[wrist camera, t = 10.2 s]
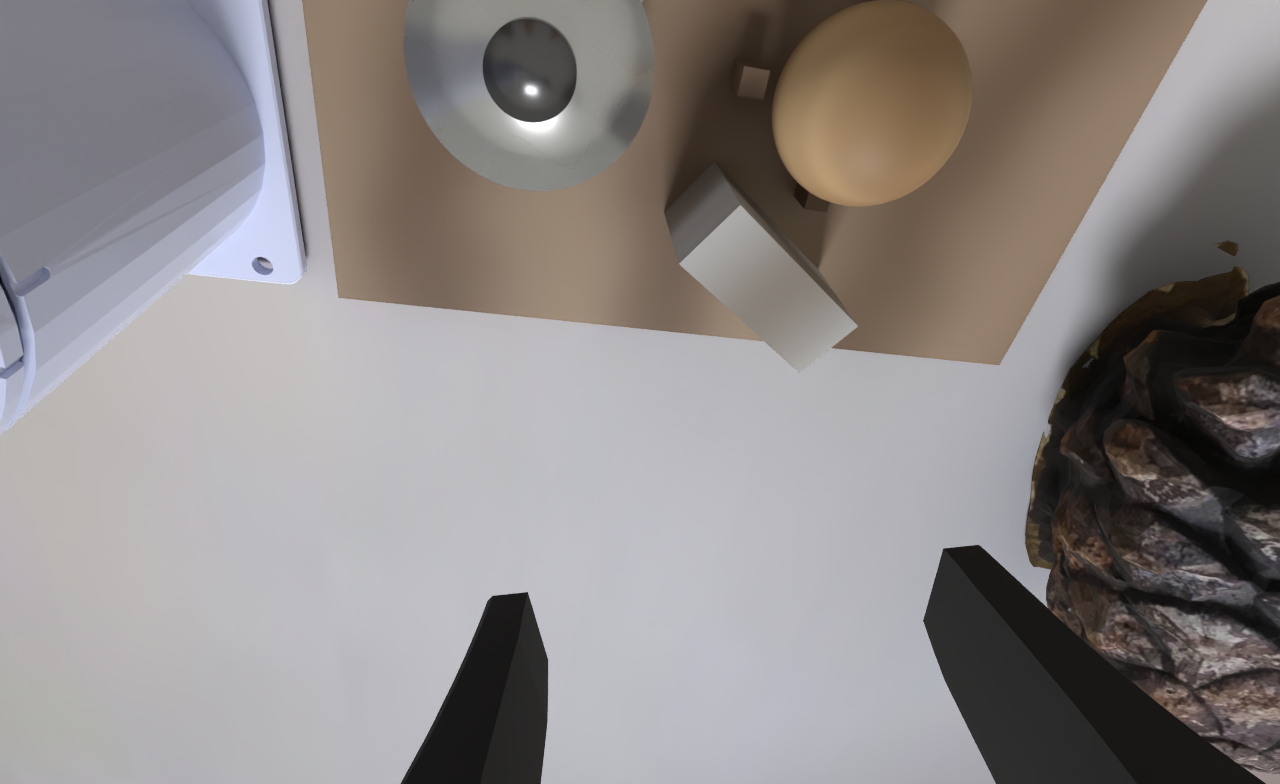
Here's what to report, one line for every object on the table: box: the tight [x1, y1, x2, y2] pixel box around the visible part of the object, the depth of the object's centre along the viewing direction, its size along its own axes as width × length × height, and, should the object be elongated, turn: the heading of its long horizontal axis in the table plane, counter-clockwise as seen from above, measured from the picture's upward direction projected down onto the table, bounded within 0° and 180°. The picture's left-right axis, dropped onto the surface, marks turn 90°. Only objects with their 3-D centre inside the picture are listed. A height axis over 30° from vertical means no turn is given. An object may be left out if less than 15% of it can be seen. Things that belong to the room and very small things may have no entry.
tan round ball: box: [772, 0, 972, 207], centre depth 14 cm, size 4×4×4 cm
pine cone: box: [1025, 241, 1280, 774], centre depth 21 cm, size 10×18×10 cm, turn 23°
